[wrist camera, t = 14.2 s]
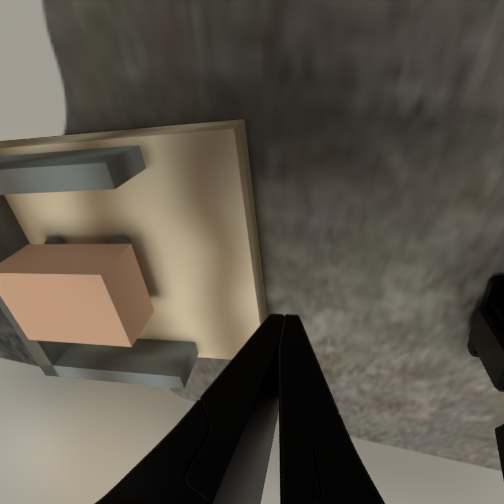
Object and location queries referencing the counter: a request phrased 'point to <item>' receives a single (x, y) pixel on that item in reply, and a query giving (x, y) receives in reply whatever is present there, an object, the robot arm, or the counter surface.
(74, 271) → the tan cardboard-like brick
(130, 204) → the dock
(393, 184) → the counter surface
